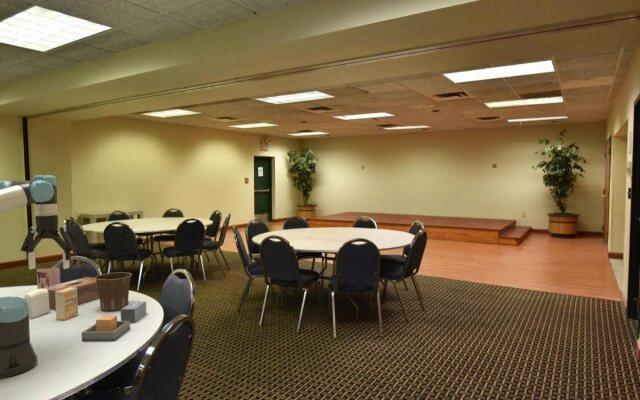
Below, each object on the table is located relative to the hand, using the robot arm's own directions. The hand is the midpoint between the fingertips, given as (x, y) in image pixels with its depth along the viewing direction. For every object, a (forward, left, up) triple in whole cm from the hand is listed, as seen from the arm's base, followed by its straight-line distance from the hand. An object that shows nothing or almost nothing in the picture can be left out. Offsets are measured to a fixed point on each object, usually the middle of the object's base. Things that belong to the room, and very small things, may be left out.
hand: (49, 268), depth 165 cm
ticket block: (+25, -21, -29) cm, 43 cm away
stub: (+5, -19, -28) cm, 34 cm away
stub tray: (+5, -19, -29) cm, 35 cm away
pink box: (+64, +44, -29) cm, 83 cm away
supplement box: (+27, +11, -29) cm, 41 cm away
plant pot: (+41, -4, -29) cm, 50 cm away
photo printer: (+30, +27, -29) cm, 50 cm away
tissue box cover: (+51, +22, -29) cm, 63 cm away
